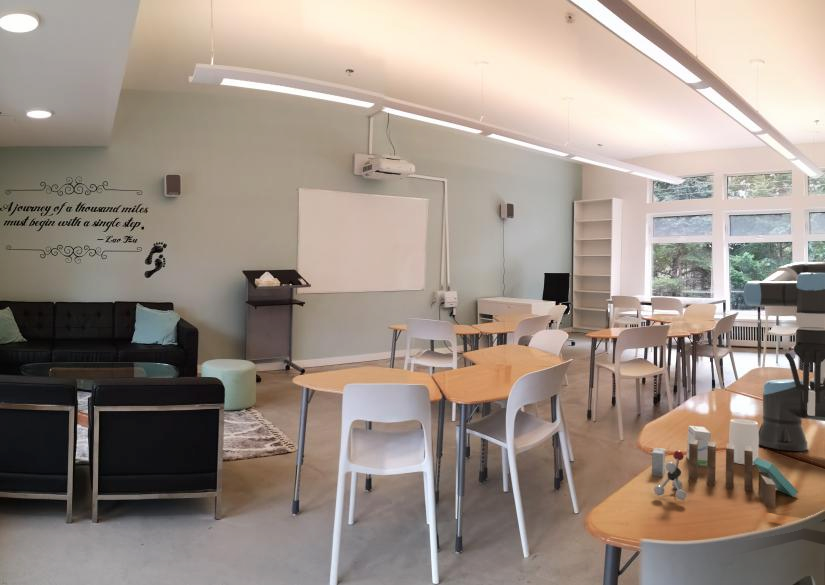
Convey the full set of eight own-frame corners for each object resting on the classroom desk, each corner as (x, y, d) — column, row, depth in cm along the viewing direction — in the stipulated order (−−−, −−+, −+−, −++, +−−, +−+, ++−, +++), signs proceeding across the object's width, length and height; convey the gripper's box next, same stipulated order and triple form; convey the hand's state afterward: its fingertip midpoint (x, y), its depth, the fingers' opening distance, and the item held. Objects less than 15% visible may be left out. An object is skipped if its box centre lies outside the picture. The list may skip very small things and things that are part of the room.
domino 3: (733, 482, 172) (734, 444, 172) (733, 487, 167) (734, 449, 167) (725, 480, 173) (726, 443, 173) (725, 486, 168) (726, 448, 168)
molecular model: (652, 495, 159) (653, 456, 160) (663, 484, 169) (663, 447, 169) (685, 502, 155) (685, 461, 155) (694, 490, 164) (694, 452, 164)
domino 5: (766, 472, 162) (775, 484, 152) (766, 494, 162) (775, 507, 152) (758, 471, 163) (766, 483, 152) (758, 493, 162) (766, 506, 152)
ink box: (686, 460, 194) (686, 425, 194) (703, 461, 193) (703, 426, 193) (693, 468, 186) (693, 430, 186) (710, 469, 184) (711, 431, 185)
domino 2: (715, 479, 174) (715, 442, 174) (714, 484, 169) (715, 446, 169) (707, 478, 175) (708, 441, 175) (707, 483, 170) (707, 445, 170)
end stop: (664, 471, 181) (665, 448, 181) (662, 477, 175) (662, 453, 175) (654, 469, 183) (654, 447, 183) (651, 475, 177) (652, 452, 177)
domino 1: (697, 476, 177) (697, 440, 177) (696, 482, 171) (696, 444, 171) (690, 475, 178) (690, 439, 178) (688, 480, 172) (689, 443, 172)
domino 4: (752, 484, 170) (752, 446, 170) (752, 490, 164) (752, 451, 165) (744, 483, 171) (744, 445, 171) (744, 489, 165) (744, 450, 166)
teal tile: (782, 484, 166) (757, 457, 165) (798, 491, 160) (772, 463, 159) (777, 489, 166) (752, 462, 165) (793, 497, 160) (767, 468, 159)
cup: (756, 470, 184) (757, 425, 184) (726, 465, 189) (727, 421, 189) (760, 464, 190) (760, 421, 190) (731, 460, 196) (731, 417, 196)
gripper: (839, 329, 161) (838, 415, 161) (783, 327, 167) (782, 409, 167) (843, 330, 154) (842, 420, 154) (785, 328, 161) (784, 414, 160)
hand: (811, 414), depth 161 cm, fingers closed
